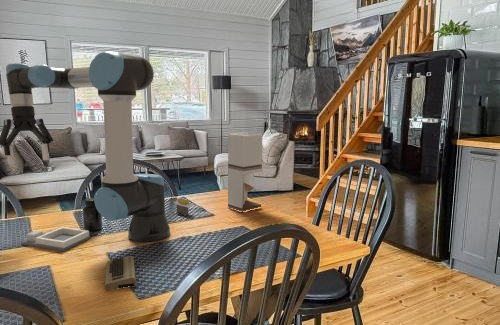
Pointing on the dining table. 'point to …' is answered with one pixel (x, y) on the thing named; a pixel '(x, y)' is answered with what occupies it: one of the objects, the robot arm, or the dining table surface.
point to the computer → (120, 273)
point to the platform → (183, 206)
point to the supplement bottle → (91, 216)
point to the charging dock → (56, 238)
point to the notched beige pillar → (243, 168)
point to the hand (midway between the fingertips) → (29, 162)
